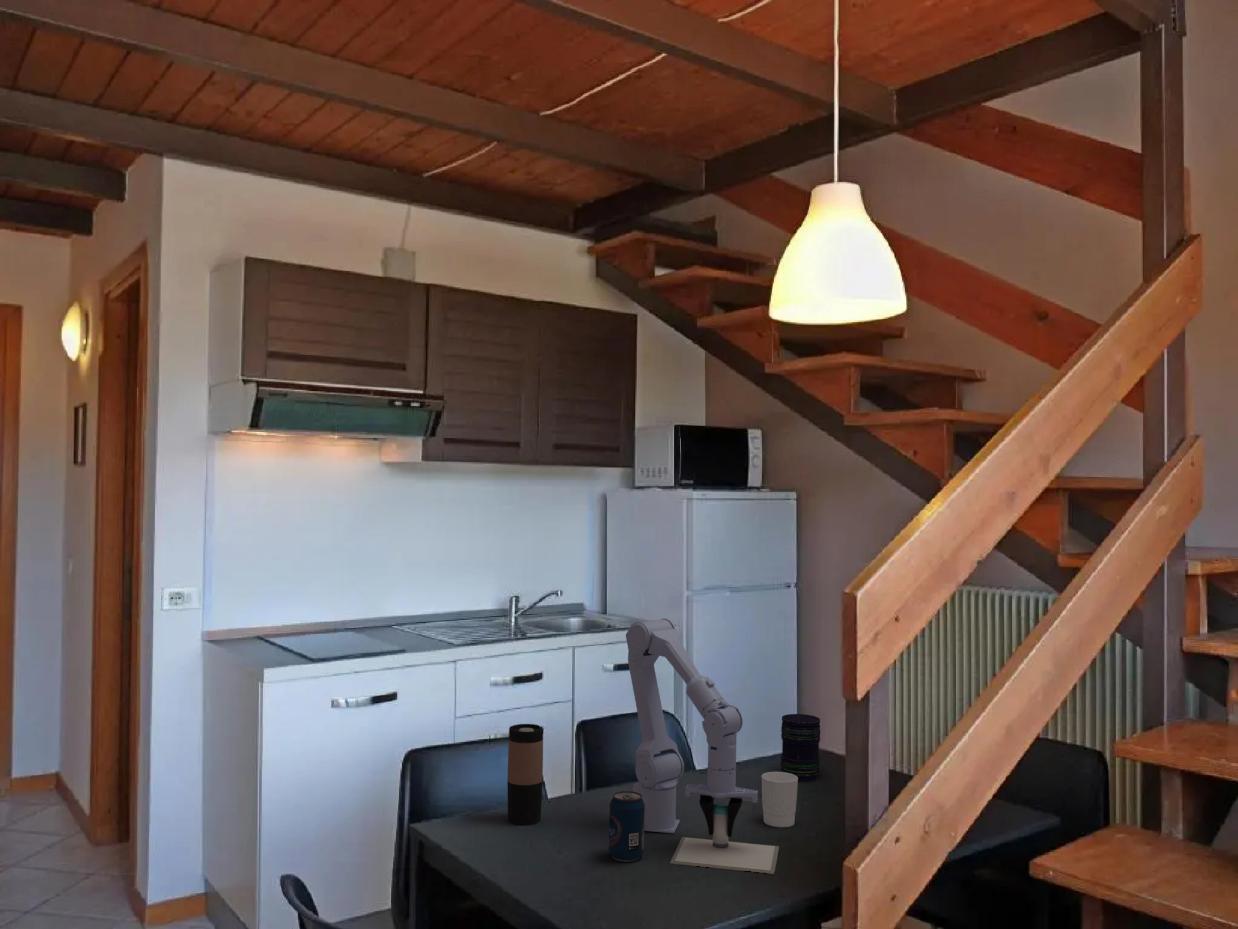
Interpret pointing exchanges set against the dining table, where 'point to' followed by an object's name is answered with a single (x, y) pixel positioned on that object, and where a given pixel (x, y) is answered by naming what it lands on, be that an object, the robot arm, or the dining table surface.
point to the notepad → (726, 855)
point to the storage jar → (801, 746)
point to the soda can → (626, 826)
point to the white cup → (779, 798)
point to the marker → (720, 825)
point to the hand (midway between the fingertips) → (720, 834)
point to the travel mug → (525, 774)
